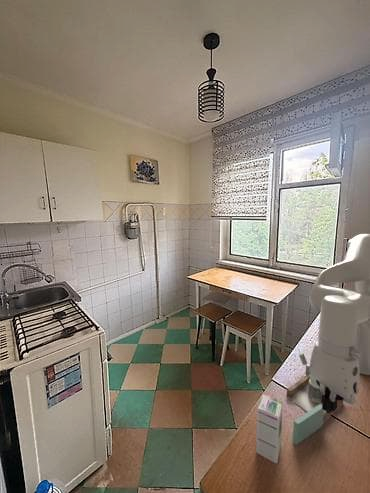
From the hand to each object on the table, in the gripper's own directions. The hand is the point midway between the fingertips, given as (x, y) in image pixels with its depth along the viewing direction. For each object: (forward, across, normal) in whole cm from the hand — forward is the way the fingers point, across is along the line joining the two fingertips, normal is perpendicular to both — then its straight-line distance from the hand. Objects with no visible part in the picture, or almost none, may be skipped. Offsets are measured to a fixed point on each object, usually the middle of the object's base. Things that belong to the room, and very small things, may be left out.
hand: (328, 409), depth 57 cm
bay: (+15, +13, -16) cm, 26 cm away
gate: (+15, +6, -3) cm, 17 cm away
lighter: (+16, +22, -26) cm, 38 cm away
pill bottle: (+15, +13, -17) cm, 26 cm away
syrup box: (+16, +9, +12) cm, 21 cm away
